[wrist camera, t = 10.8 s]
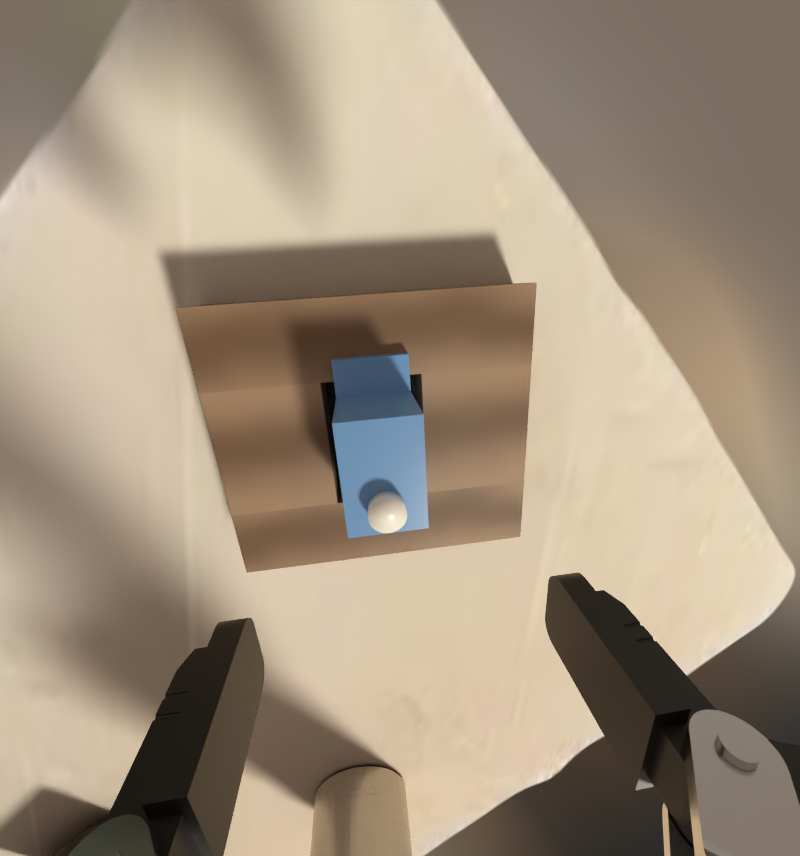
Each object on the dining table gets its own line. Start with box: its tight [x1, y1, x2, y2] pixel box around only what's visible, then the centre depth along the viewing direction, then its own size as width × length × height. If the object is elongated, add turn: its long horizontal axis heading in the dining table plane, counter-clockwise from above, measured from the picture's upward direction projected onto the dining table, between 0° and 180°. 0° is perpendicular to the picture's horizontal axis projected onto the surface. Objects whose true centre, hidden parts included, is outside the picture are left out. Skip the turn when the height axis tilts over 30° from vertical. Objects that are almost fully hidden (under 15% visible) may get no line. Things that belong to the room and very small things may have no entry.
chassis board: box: [176, 283, 536, 572], centre depth 23 cm, size 16×18×3 cm
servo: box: [331, 352, 429, 538], centre depth 20 cm, size 10×4×8 cm, turn 4°
